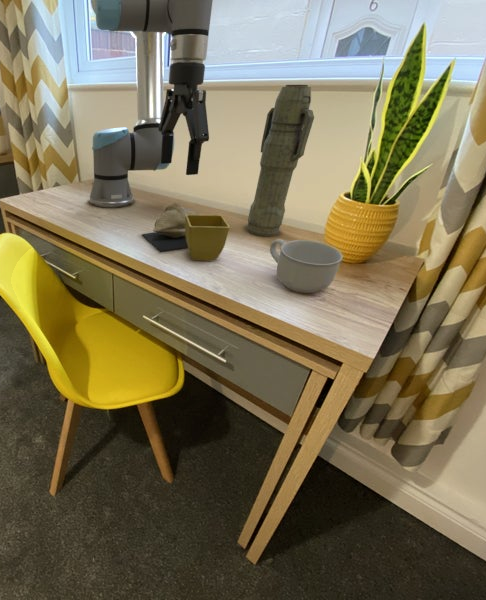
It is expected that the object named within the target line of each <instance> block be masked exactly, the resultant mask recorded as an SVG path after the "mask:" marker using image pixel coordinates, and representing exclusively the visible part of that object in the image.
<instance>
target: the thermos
mask: <svg viewBox="0 0 486 600" xmlns="http://www.w3.org/2000/svg"><path fill="white" fill-rule="evenodd" d="M311 103H312V87H311V86H309V85H308V84H286V85H285V86H282V87H281V89H280V91H279V92H278V95H277V97H276V99H275V102H274V107H271V108H270V110H269V111H268V112H267V115H266V120H265V123H264V124H265V125H264V130H263V136H262V138H261V139H262V140H261V146H260V153H261V157H260V161H259V166H260V170H259V176H258V180H257V183H256V190H255V194H254V199H253V202H251V205H250V208H249V213H248V217H247V226H246V231H247V232H248V233H250V234H252V235H254V236H259V237H276V236H278V235H279V232H280V228H281V226H282V223H283V221H284V216H285V212H286V207H285V203H286V200H287V196H288V193H289V189H290V185H291V181H292V178H293V174H294V170H296V168H297V166H298V163H299V160H300V159H301V158H302V157H303V156H304V154H305V150H306V146H307V144H308V140H309V136H310V134H311V130H312V127H313V123H314V120H315V115H314V112H313V110H312V109H310V108H311V107H310V106H311Z"/></svg>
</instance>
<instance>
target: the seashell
mask: <svg viewBox="0 0 486 600" xmlns="http://www.w3.org/2000/svg"><path fill="white" fill-rule="evenodd" d="M185 215H201V214H200V213H197V212H195V211H193V210H191V209H188V208H185V207H183V206H181V205H180V204H178V203H177V202H176V203H175V202H174V203H171V204H168V205H167V207H165V210H164V212H163V213H162V214H161V215H159V216H158V217H157V218H156V220H155V221H154V227H153V229H152V231H153V233H155V232H159V233H161V234H163V235H165V236H168V237H172V238H179V237H181V236H183V237H184V236H186V235H185Z"/></svg>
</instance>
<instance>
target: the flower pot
mask: <svg viewBox="0 0 486 600" xmlns="http://www.w3.org/2000/svg"><path fill="white" fill-rule="evenodd" d="M230 228H231V225H229V223H228V222H227V221H226V219H225V218H224V216H223V215H221V214H200V215H185V235H186V242H187V245H188V248H187V249H188V251H189V254H190V257H191V260H192V261H209V262H214V261H215V260H217V258H218V257H220V255H221V253H222V252H223V250H224V248H225V245H226V242H227V239H228V235H229V231H230Z"/></svg>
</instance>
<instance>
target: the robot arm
mask: <svg viewBox="0 0 486 600" xmlns="http://www.w3.org/2000/svg"><path fill="white" fill-rule="evenodd" d="M90 5H91V8H92V10H93V12H94V15H95V22H96V23H95V24H96V27H97V29H98V30H100V31H108V32H110V33H111V32H112V33H113V32H130V34H131V37H133V38H134V39H135V58H136V59H135V63H136V64H135V65H136V66H135V67H136V68H135V69H136V104H137V122H136V123H135V124H134V125H133V129H132V130H133V131H132V132H130V131H129V128H127V127H114V128H106V129H102V130H99V131H96V132H95V133H93V136H92V148H91V151H92V153H93V154H92V155H93V156H92V157H93V183H92V187H91V191H90V194H89V201H90V202H89V203H90V204H91V205H93V206H96V207H100V208H123V207H126V206H129V205H131V204H133V202H134V195H133V192H132V189H131V185H130V182H129V171H131V172H132V171H134V172H135V171H153V172H154V171H155V172H156V171H162V170H163V171H164V170H166V169H167V168H168V167H169V166H170V164H172V161H173V160H172V159H173V155H174V149H175V132H174V130H175V127H176V126H177V123H178V121H179V119H180V117H181V115H182V116H183V117H185V121H186V126H187V130H188V133H189V137H190V140H189V142H188V150H187V158H186V159H187V160H186V170H185V175H186V176H194V175H199V167H200V160H201V153H202V146H203V144H204V143H205V142H209V140H210V133H209V132H210V131H209V123H208V114H207V105H206V104H207V103H206V101H207V99H206V98H207V90H206V89H198V86H201V85H203V84H204V79H205V71H206V65H205V63H204V62H205V61H206V60H207V55H208V46H209V45H208V44H209V34H210V25H211V17H212V10H213V0H90ZM166 34H167V35H169V36H171V40H170V42H169V47H170V57H169V59H170V61H172V63H170V65H169V67H168V84H169V85H174V86H173V88H167V89H166V91H165V96H164V36H165V35H166ZM164 97H165V98H164ZM164 99H165V101H164Z"/></svg>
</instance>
